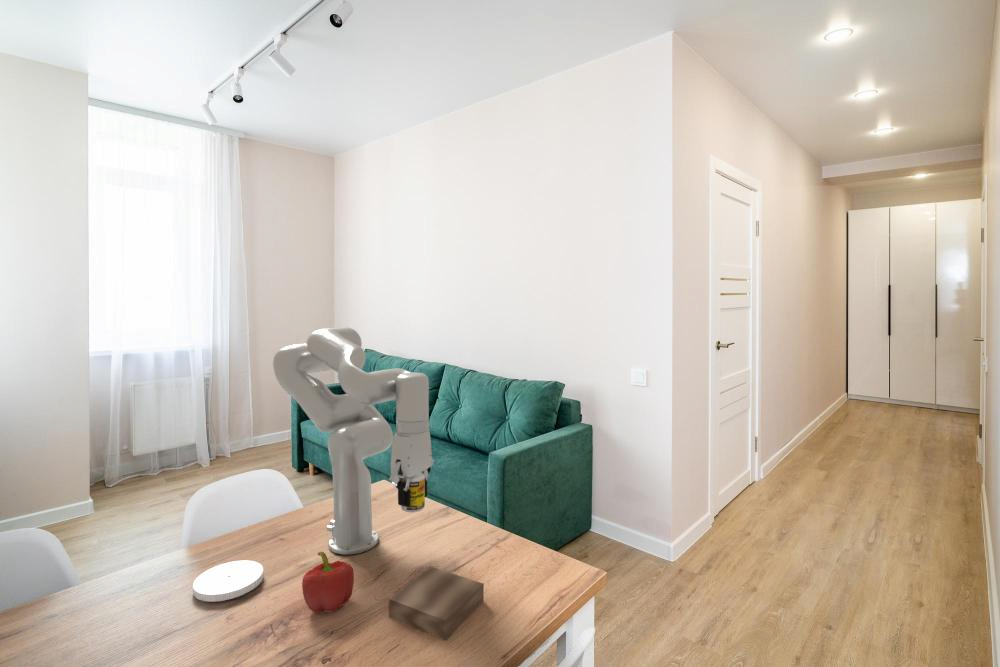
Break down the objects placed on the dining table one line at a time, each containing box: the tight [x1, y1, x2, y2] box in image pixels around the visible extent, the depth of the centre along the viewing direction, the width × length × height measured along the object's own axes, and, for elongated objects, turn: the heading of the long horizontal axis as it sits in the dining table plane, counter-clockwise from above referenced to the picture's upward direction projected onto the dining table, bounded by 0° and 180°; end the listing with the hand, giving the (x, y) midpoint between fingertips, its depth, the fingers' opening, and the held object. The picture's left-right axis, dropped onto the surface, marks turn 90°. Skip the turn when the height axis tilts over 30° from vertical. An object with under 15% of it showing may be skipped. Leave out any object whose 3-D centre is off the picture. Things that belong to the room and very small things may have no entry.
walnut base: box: [388, 566, 485, 641], centre depth 106 cm, size 14×14×4 cm
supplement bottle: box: [400, 472, 426, 513], centre depth 120 cm, size 6×6×10 cm
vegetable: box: [301, 551, 355, 614], centre depth 107 cm, size 11×10×10 cm
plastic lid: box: [192, 559, 264, 603], centre depth 114 cm, size 14×14×2 cm
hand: (412, 499), depth 120 cm, fingers closed on supplement bottle, 5 cm apart
